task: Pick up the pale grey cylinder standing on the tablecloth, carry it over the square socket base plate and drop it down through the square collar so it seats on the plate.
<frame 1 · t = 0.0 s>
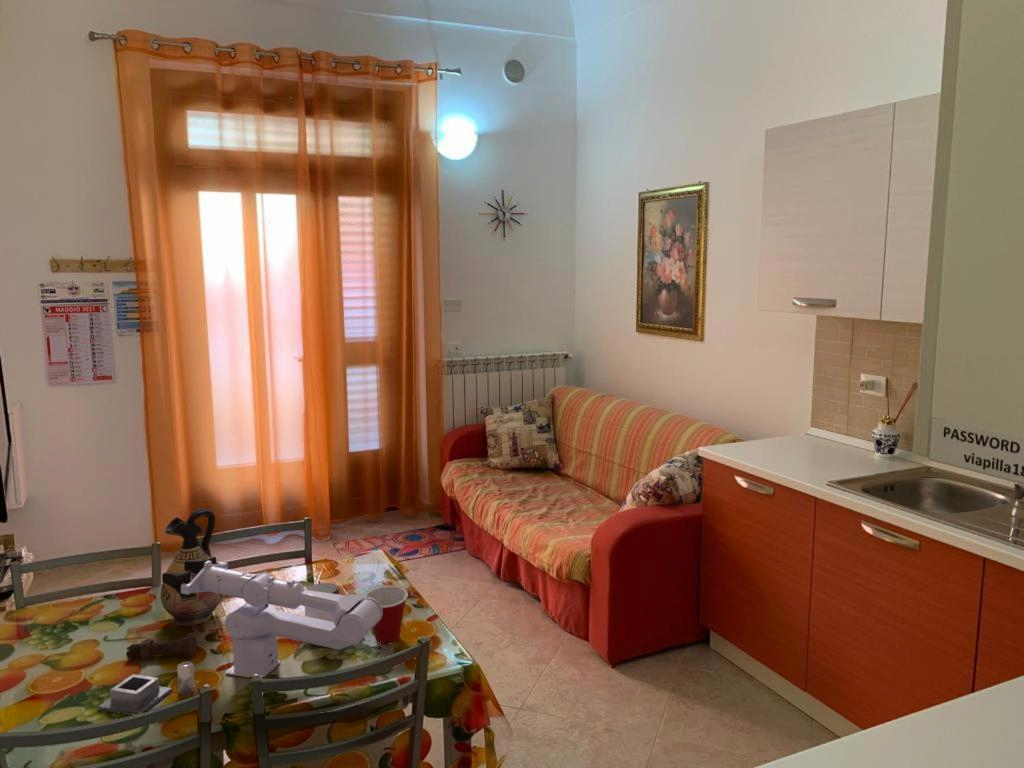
hand: (174, 571, 176), 22 cm above the table, tool horizontal, fingers open, 7 cm apart
jar: (323, 634, 192), on the table
pale grey cylinder: (186, 690, 165), on the table
plastic cup: (387, 640, 189), on the table
ceramic jug: (197, 618, 201), on the table
square socket base plate: (135, 700, 161), on the table
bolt: (162, 657, 181), on the table
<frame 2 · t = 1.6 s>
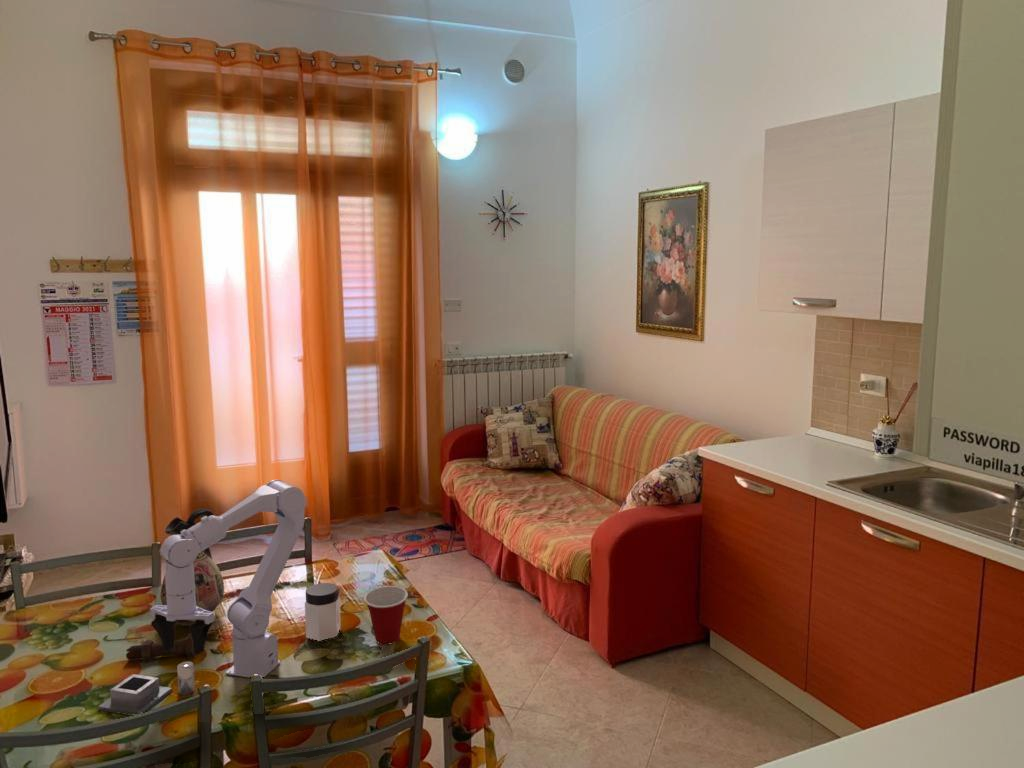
hand: (184, 650, 164), 9 cm above the table, tool pointing down, fingers open, 7 cm apart
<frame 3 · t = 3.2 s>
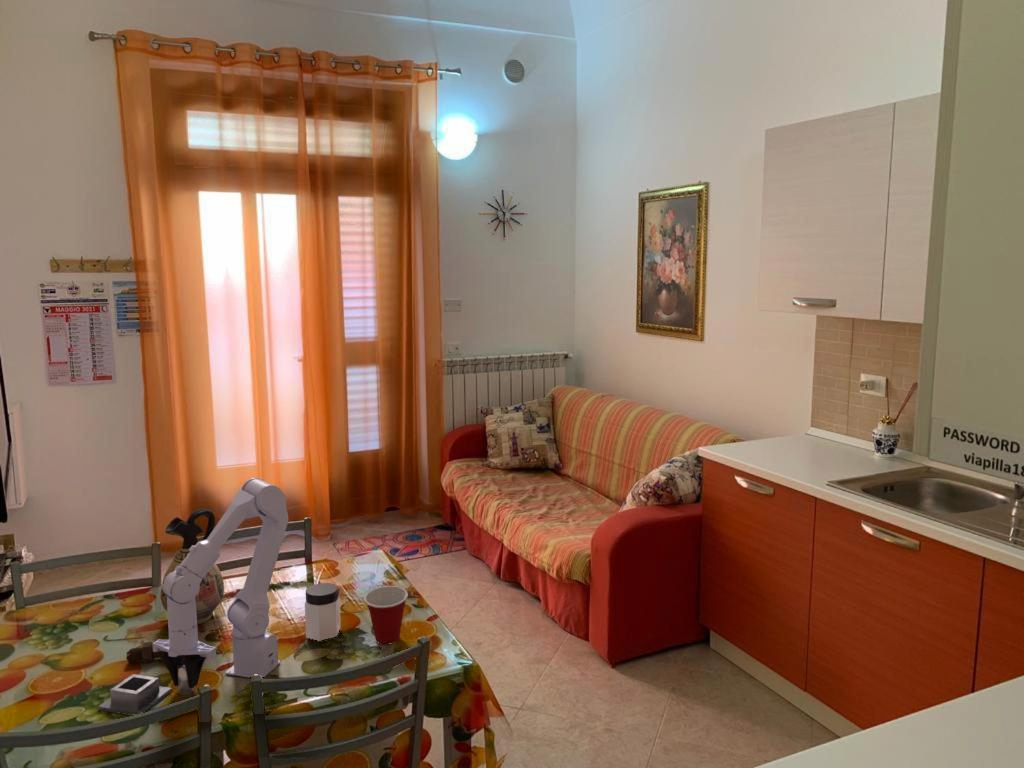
hand: (186, 684, 165), 1 cm above the table, tool pointing down, fingers closed on pale grey cylinder, 3 cm apart
pale grey cylinder: (186, 690, 165), on the table, touching gripper
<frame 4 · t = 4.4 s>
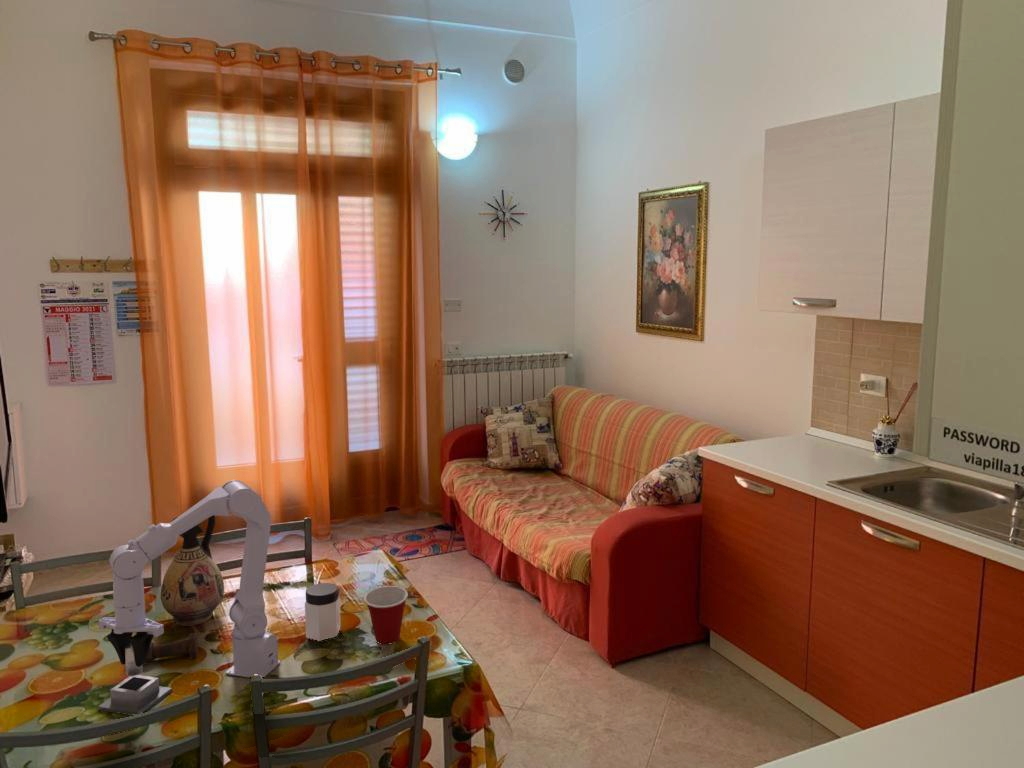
hand: (133, 663, 160), 8 cm above the table, tool pointing down, fingers closed on pale grey cylinder, 3 cm apart
pale grey cylinder: (134, 672, 160), point 6 cm above the table, touching gripper
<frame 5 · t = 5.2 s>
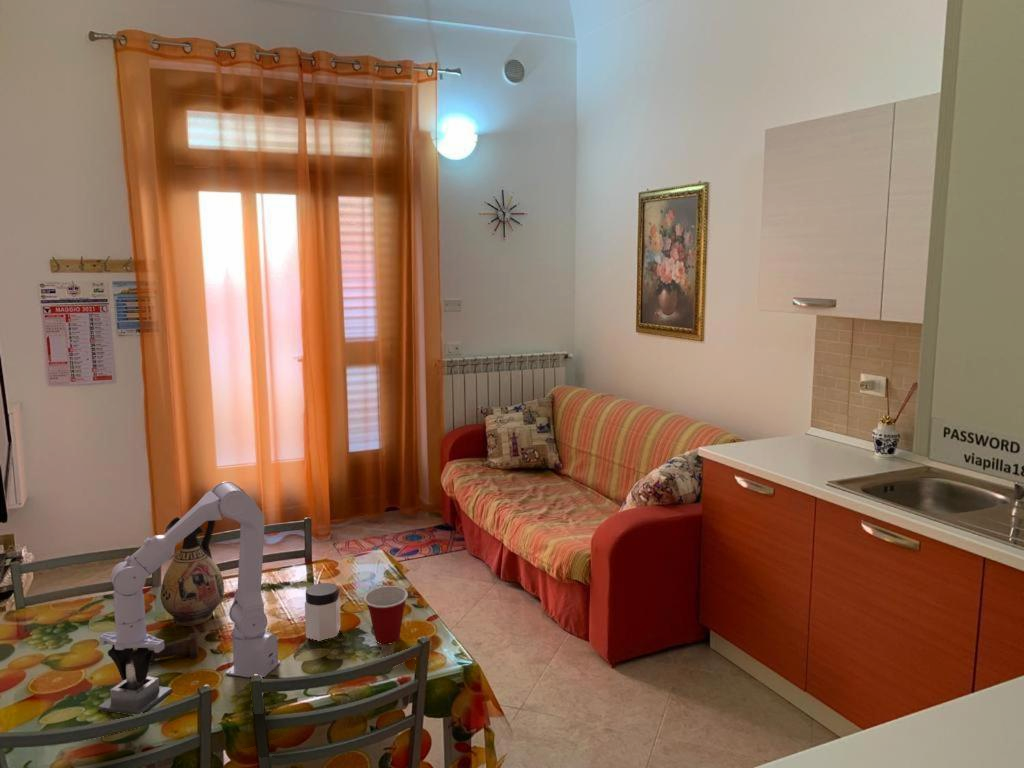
hand: (134, 678, 161), 5 cm above the table, tool pointing down, fingers closed on pale grey cylinder, 3 cm apart
pale grey cylinder: (135, 687, 161), point 3 cm above the table, touching gripper
when the fingers open (5 cm above the table, at t = 5.6 s): pale grey cylinder drops 2 cm, resting on square socket base plate.
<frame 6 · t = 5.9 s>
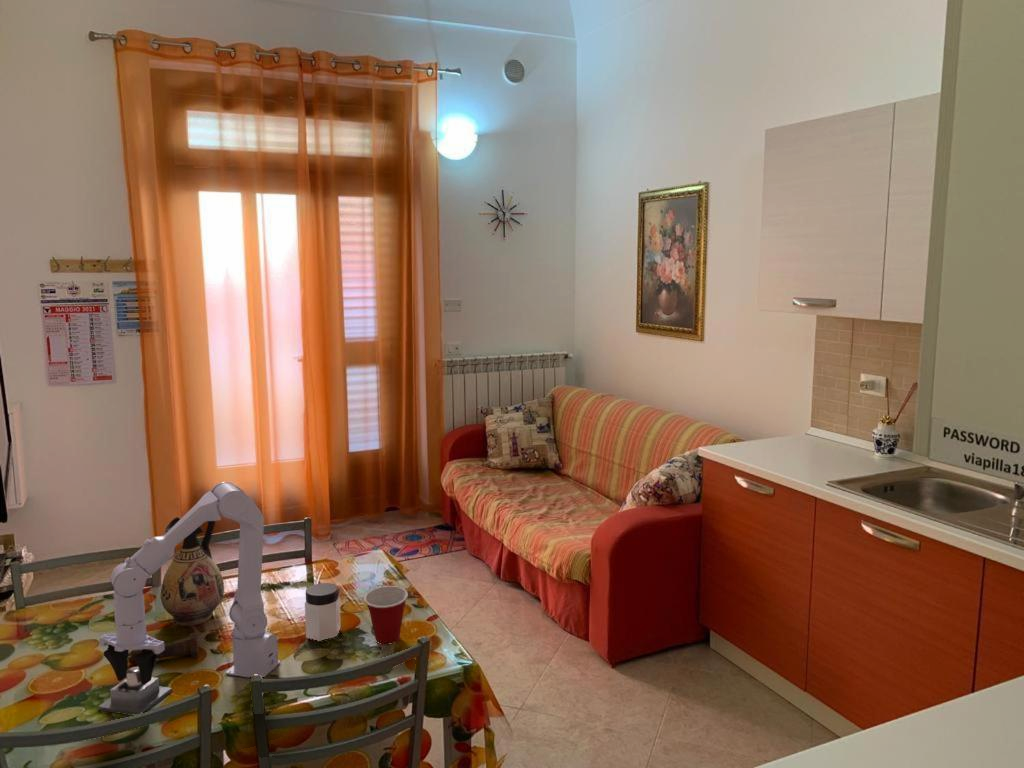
hand: (134, 680, 161), 5 cm above the table, tool pointing down, fingers open, 5 cm apart
pale grey cylinder: (136, 696, 161), point 1 cm above the table, touching square socket base plate
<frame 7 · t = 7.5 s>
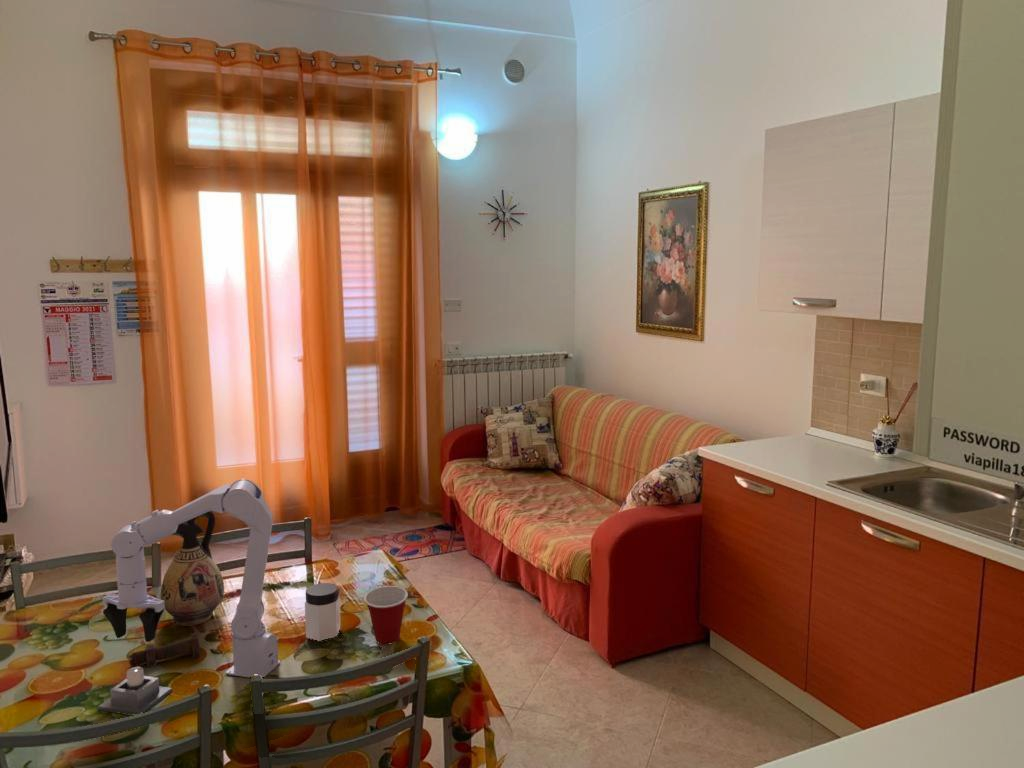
hand: (135, 638, 168), 10 cm above the table, tool pointing down, fingers open, 7 cm apart
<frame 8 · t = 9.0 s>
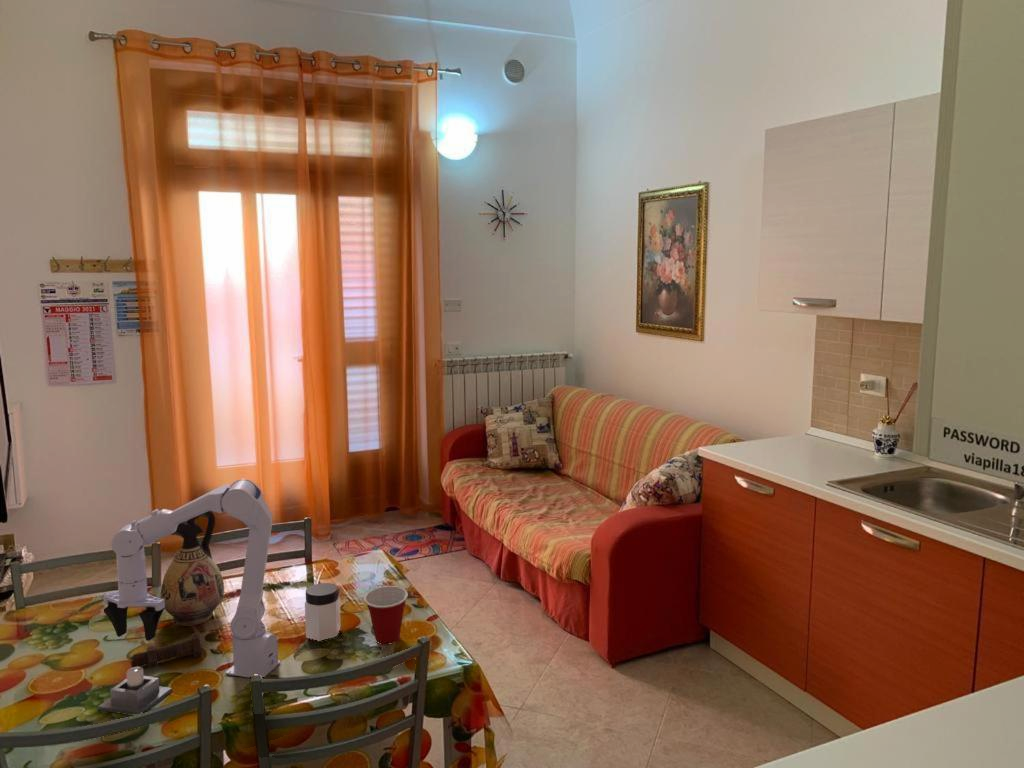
hand: (136, 636, 169), 10 cm above the table, tool pointing down, fingers open, 7 cm apart
at the end: pale grey cylinder 0.1 cm off-centre on the square socket base plate, point 0.8 cm above the square socket base plate's base; pale grey cylinder tilted 0°; the gripper is holding nothing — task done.
